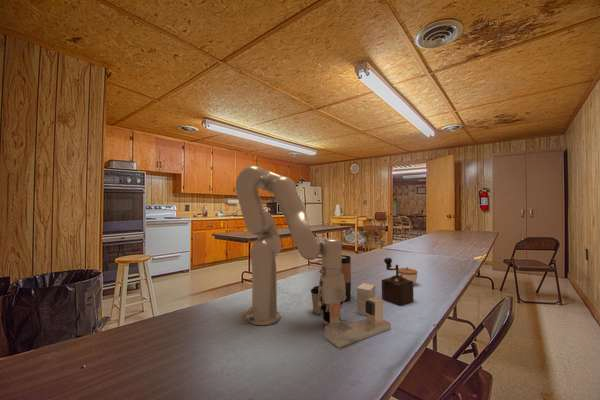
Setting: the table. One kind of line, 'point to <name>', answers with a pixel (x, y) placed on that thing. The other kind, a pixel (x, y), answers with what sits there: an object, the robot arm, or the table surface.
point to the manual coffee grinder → (396, 287)
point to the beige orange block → (334, 312)
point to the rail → (358, 326)
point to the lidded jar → (408, 274)
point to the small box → (364, 296)
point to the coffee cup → (314, 298)
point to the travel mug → (347, 275)
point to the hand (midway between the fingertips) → (331, 319)
